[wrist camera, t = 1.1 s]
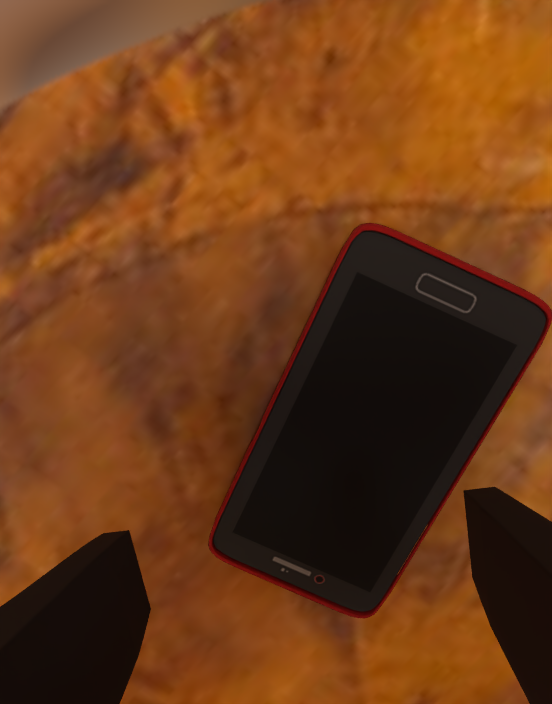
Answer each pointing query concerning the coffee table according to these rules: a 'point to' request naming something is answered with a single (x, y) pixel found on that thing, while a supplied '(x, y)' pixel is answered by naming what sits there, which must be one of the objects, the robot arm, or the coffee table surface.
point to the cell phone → (375, 419)
